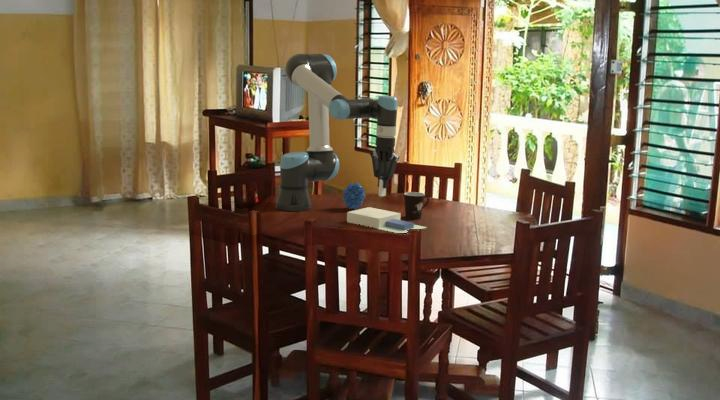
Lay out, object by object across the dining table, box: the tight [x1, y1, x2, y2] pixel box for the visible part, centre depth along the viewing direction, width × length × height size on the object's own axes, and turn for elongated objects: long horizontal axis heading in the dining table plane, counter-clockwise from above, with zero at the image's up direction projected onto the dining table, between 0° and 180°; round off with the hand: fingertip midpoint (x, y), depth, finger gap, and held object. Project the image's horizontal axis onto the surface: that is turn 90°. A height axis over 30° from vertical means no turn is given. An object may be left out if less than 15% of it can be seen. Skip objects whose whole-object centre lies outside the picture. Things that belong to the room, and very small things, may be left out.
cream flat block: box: [346, 206, 402, 230], centre depth 306 cm, size 16×14×4 cm
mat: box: [377, 224, 428, 234], centre depth 298 cm, size 12×16×1 cm
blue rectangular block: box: [386, 219, 415, 230], centre depth 298 cm, size 9×6×2 cm, turn 50°
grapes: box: [342, 182, 366, 211], centre depth 329 cm, size 12×7×12 cm, turn 53°
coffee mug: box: [403, 191, 430, 221], centre depth 316 cm, size 12×9×10 cm
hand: (382, 195), depth 304 cm, fingers closed
